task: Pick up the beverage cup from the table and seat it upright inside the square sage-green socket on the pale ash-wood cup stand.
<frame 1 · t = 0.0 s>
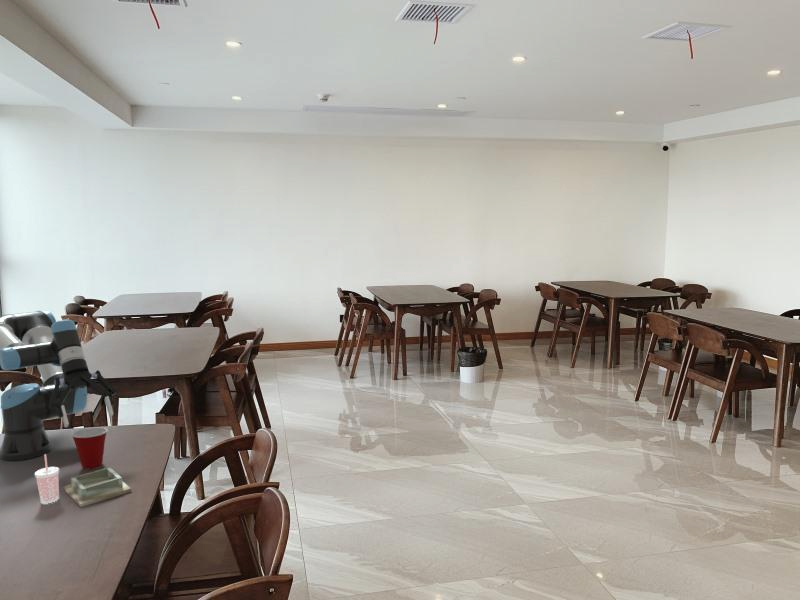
hand: (89, 420, 200), 15 cm above the table, tool tilted 35°, fingers open, 13 cm apart
cup stand: (97, 490, 184), on the table
plastic cup: (93, 466, 202), on the table
beverage cup: (50, 501, 178), on the table
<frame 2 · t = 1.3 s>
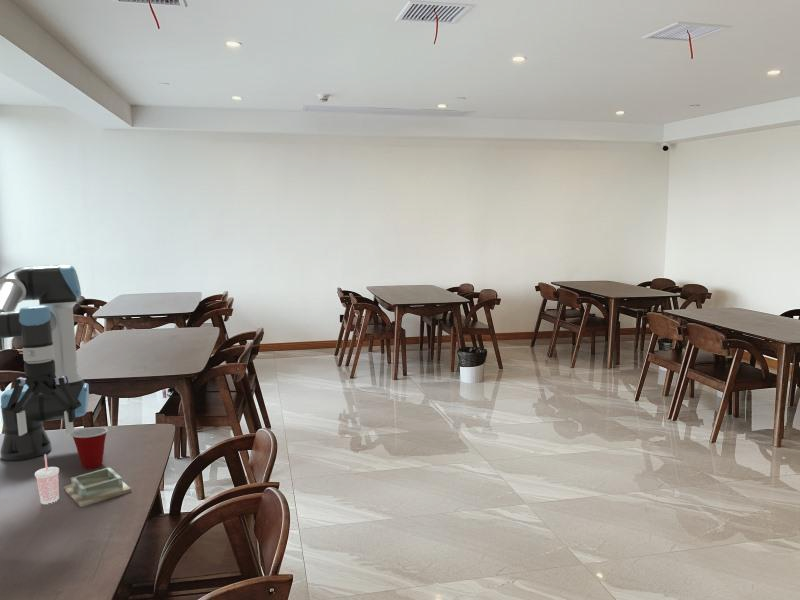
hand: (46, 433, 176), 20 cm above the table, tool pointing down, fingers open, 13 cm apart
nothing on the table moved.
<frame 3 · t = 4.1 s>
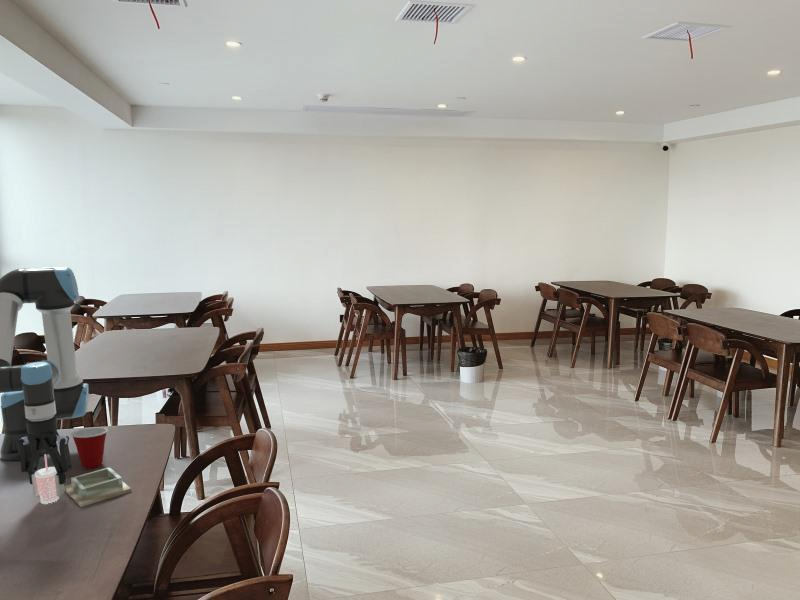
hand: (49, 494, 177), 2 cm above the table, tool pointing down, fingers closed on beverage cup, 6 cm apart
beverage cup: (50, 501, 178), on the table, touching gripper
everything else where it was.
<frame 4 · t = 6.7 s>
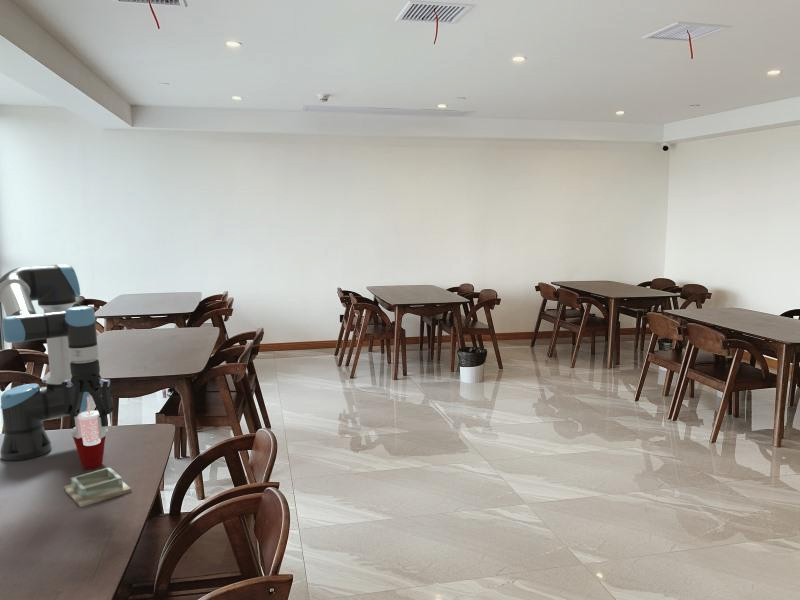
hand: (91, 436, 181), 17 cm above the table, tool pointing down, fingers closed on beverage cup, 6 cm apart
beverage cup: (92, 443, 181), point 15 cm above the table, touching gripper
everything else where it was.
when the fingers open (5 cm above the table, at t = 9.6 s): beverage cup drops 2 cm, resting on cup stand.
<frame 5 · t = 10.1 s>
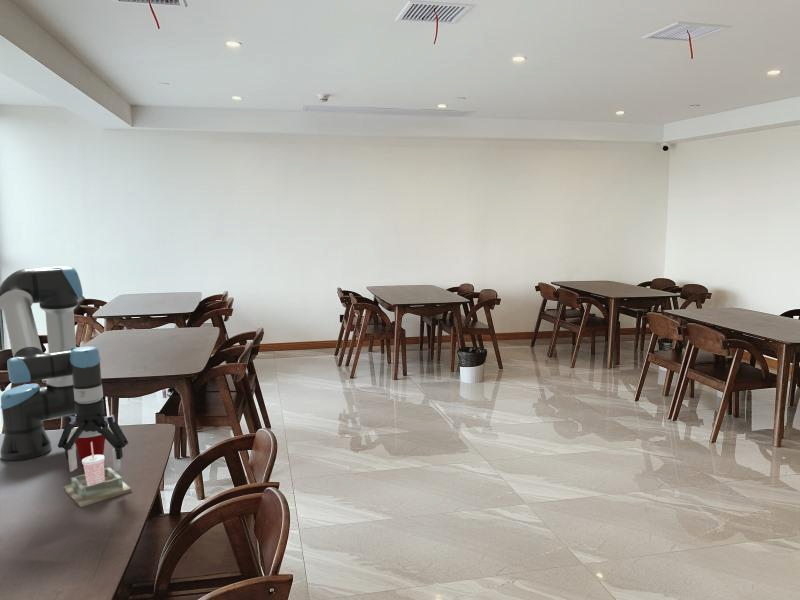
hand: (95, 469, 183), 7 cm above the table, tool pointing down, fingers open, 13 cm apart
beverage cup: (96, 487, 183), point 1 cm above the table, touching cup stand
everything else where it was.
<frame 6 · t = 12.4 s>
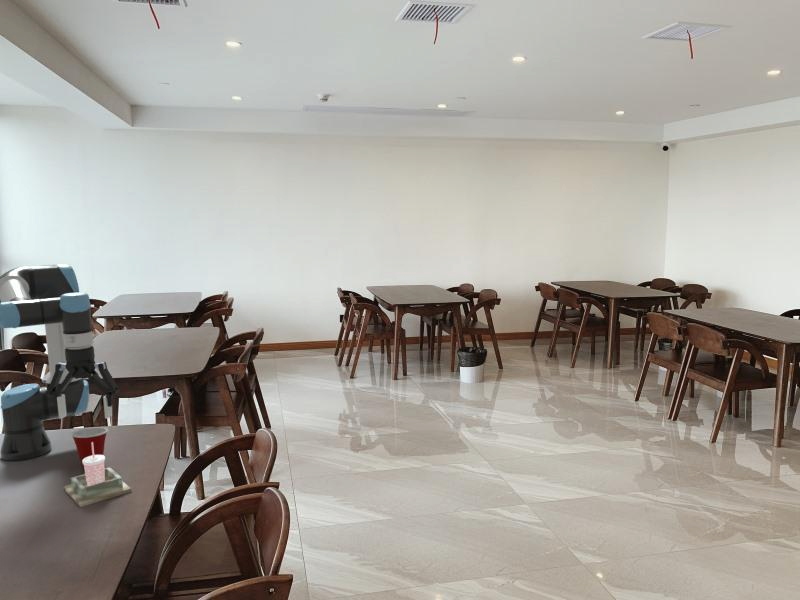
hand: (85, 417, 181), 23 cm above the table, tool pointing down, fingers open, 13 cm apart
nothing on the table moved.
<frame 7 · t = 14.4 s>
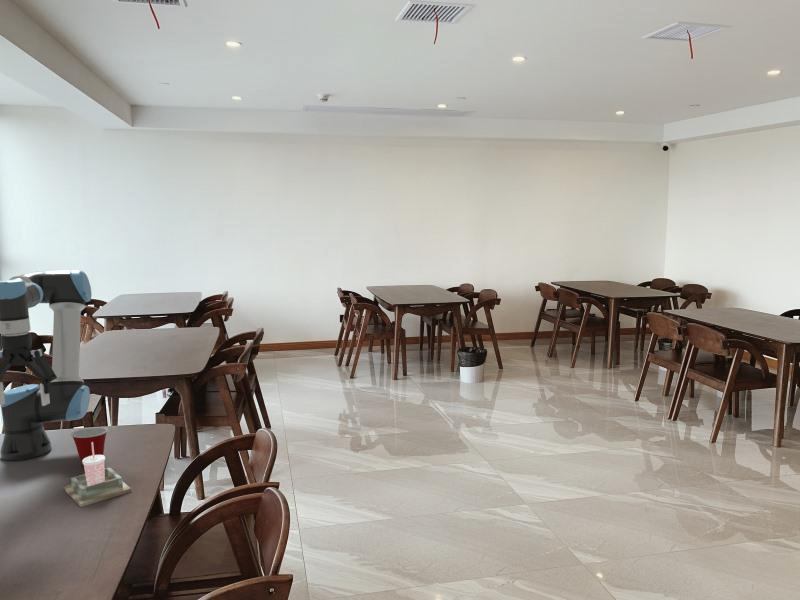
hand: (23, 404, 181), 27 cm above the table, tool pointing down, fingers open, 13 cm apart
nothing on the table moved.
at the end: beverage cup 0.2 cm off-centre on the cup stand, point 0.8 cm above the cup stand's base; beverage cup tilted 0°; the gripper is holding nothing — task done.
